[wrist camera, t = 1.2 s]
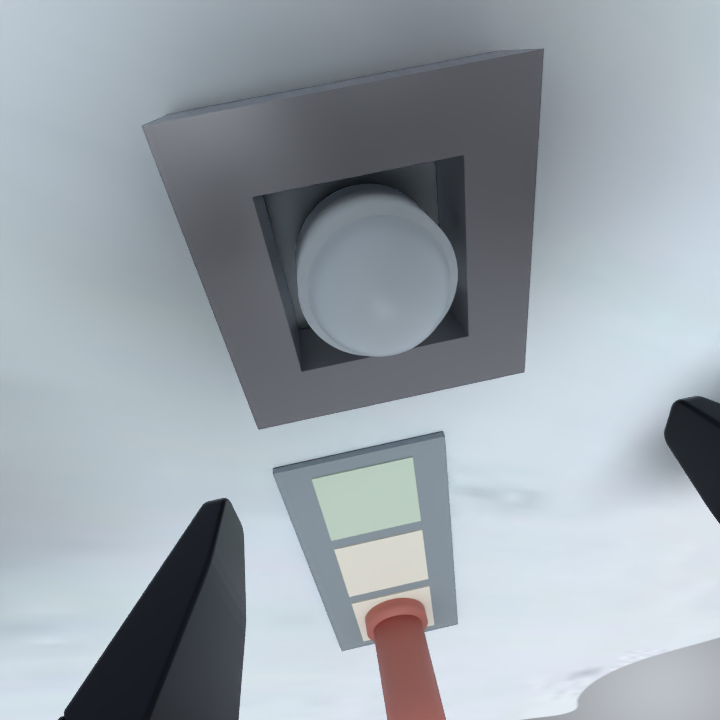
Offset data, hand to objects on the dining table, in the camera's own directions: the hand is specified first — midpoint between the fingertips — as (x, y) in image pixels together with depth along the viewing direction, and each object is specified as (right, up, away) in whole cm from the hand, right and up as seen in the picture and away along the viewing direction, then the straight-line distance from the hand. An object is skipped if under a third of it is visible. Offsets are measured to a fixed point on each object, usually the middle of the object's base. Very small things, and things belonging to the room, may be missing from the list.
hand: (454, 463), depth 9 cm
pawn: (+1, -18, +27) cm, 33 cm away
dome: (-2, +6, +10) cm, 12 cm away
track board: (0, -12, +24) cm, 27 cm away
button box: (-2, +7, +11) cm, 13 cm away
